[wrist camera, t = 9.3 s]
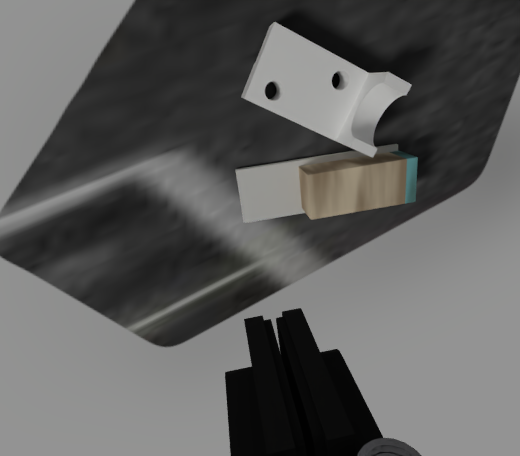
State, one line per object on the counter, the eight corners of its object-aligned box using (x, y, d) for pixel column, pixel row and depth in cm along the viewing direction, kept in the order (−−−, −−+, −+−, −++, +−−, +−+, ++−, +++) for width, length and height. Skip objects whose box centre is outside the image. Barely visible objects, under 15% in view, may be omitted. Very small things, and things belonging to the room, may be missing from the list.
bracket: (374, 84, 39) (411, 84, 32) (344, 144, 41) (372, 157, 34) (268, 27, 35) (283, 13, 28) (240, 97, 37) (249, 100, 30)
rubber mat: (395, 143, 41) (398, 144, 41) (394, 195, 44) (396, 196, 43) (235, 169, 40) (235, 170, 39) (243, 221, 42) (244, 223, 42)
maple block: (298, 166, 40) (398, 150, 41) (301, 207, 42) (397, 191, 43) (307, 175, 36) (417, 157, 37) (311, 219, 38) (415, 201, 39)
